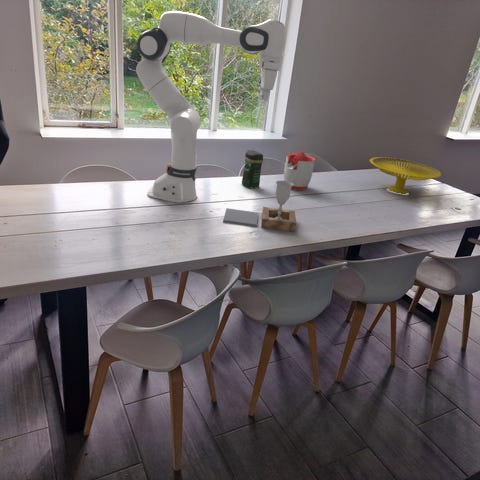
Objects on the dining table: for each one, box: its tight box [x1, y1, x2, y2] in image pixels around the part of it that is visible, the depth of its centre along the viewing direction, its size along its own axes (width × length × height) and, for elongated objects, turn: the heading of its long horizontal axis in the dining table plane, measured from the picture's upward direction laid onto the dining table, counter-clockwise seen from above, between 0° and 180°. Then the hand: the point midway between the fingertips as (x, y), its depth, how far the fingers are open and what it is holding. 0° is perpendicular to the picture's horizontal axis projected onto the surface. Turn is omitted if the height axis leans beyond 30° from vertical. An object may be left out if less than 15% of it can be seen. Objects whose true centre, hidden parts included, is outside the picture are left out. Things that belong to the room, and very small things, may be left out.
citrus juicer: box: [283, 150, 316, 191], centre depth 230 cm, size 16×17×20 cm
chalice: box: [275, 180, 293, 219], centre depth 180 cm, size 7×7×18 cm
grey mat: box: [222, 207, 259, 228], centre depth 184 cm, size 14×14×1 cm
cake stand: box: [369, 156, 442, 194], centre depth 248 cm, size 40×40×15 cm
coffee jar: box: [241, 149, 264, 189], centre depth 223 cm, size 10×8×19 cm
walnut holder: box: [260, 206, 297, 233], centre depth 183 cm, size 14×14×4 cm
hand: (264, 100), depth 179 cm, fingers open, 8 cm apart
